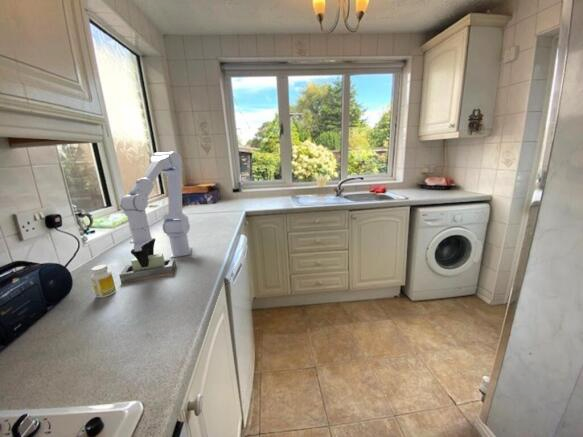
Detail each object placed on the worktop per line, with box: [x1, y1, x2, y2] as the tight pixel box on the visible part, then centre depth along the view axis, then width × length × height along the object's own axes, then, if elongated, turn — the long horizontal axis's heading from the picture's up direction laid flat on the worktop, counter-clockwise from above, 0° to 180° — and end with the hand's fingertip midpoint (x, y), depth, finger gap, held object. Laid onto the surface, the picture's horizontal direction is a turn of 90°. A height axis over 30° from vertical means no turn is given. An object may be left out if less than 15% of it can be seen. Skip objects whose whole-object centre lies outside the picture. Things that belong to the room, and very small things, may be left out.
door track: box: [119, 257, 177, 284], centre depth 95 cm, size 8×17×3 cm, turn 106°
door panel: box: [130, 253, 165, 271], centre depth 94 cm, size 3×10×6 cm, turn 107°
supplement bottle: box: [90, 264, 117, 299], centre depth 82 cm, size 5×5×10 cm
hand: (147, 262), depth 94 cm, fingers open, 7 cm apart
